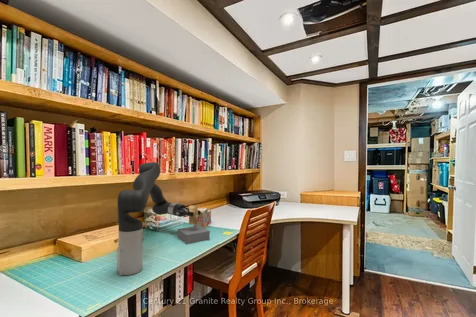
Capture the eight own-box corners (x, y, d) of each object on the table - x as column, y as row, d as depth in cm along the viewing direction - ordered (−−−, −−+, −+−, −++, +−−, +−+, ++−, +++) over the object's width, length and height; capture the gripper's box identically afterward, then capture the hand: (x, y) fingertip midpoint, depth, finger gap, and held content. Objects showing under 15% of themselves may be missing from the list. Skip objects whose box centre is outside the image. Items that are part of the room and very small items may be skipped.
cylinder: (191, 224, 141) (191, 207, 141) (187, 222, 145) (187, 205, 145) (199, 223, 144) (199, 206, 143) (195, 221, 148) (195, 205, 148)
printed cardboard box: (202, 222, 183) (203, 205, 183) (211, 222, 182) (211, 205, 182) (193, 230, 162) (193, 211, 162) (202, 230, 161) (203, 211, 161)
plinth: (186, 244, 134) (186, 235, 134) (177, 237, 146) (177, 229, 146) (209, 239, 142) (209, 230, 142) (199, 233, 154) (199, 225, 154)
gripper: (167, 205, 147) (187, 209, 137) (185, 202, 158) (205, 205, 148) (167, 218, 147) (187, 222, 137) (185, 213, 158) (205, 217, 148)
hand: (196, 213), depth 143 cm, fingers closed on cylinder, 5 cm apart
